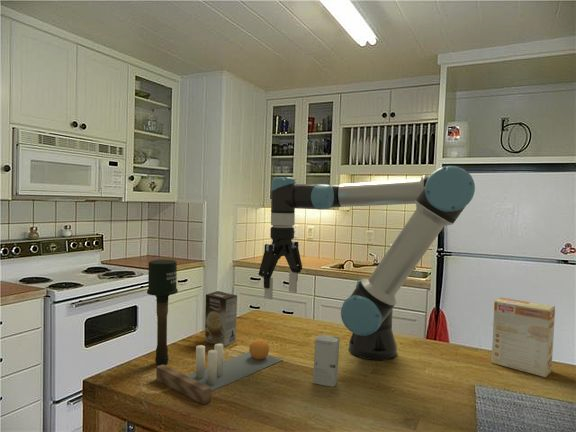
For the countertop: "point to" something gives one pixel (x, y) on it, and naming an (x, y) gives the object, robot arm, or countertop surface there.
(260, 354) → the ball
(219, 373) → the front pin
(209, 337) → the coffee box
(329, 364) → the skincare box
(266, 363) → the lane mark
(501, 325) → the coffeecake box
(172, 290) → the potato masher grenade
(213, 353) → the pin
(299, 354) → the countertop surface
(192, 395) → the back wall
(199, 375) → the pin
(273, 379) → the countertop surface
